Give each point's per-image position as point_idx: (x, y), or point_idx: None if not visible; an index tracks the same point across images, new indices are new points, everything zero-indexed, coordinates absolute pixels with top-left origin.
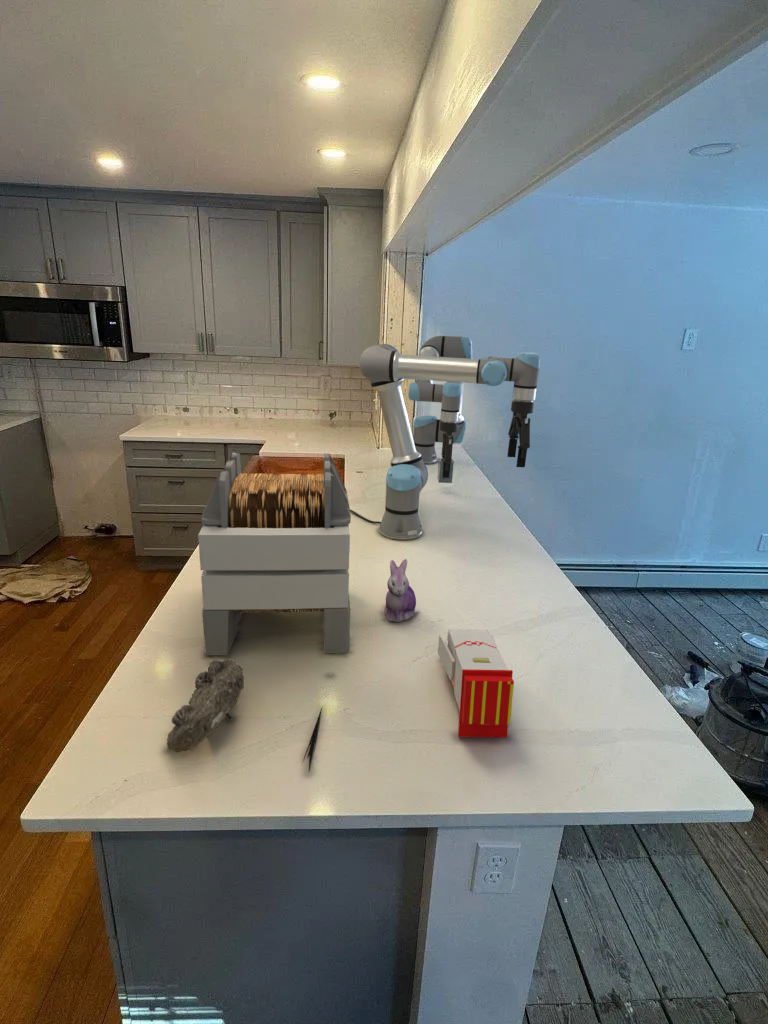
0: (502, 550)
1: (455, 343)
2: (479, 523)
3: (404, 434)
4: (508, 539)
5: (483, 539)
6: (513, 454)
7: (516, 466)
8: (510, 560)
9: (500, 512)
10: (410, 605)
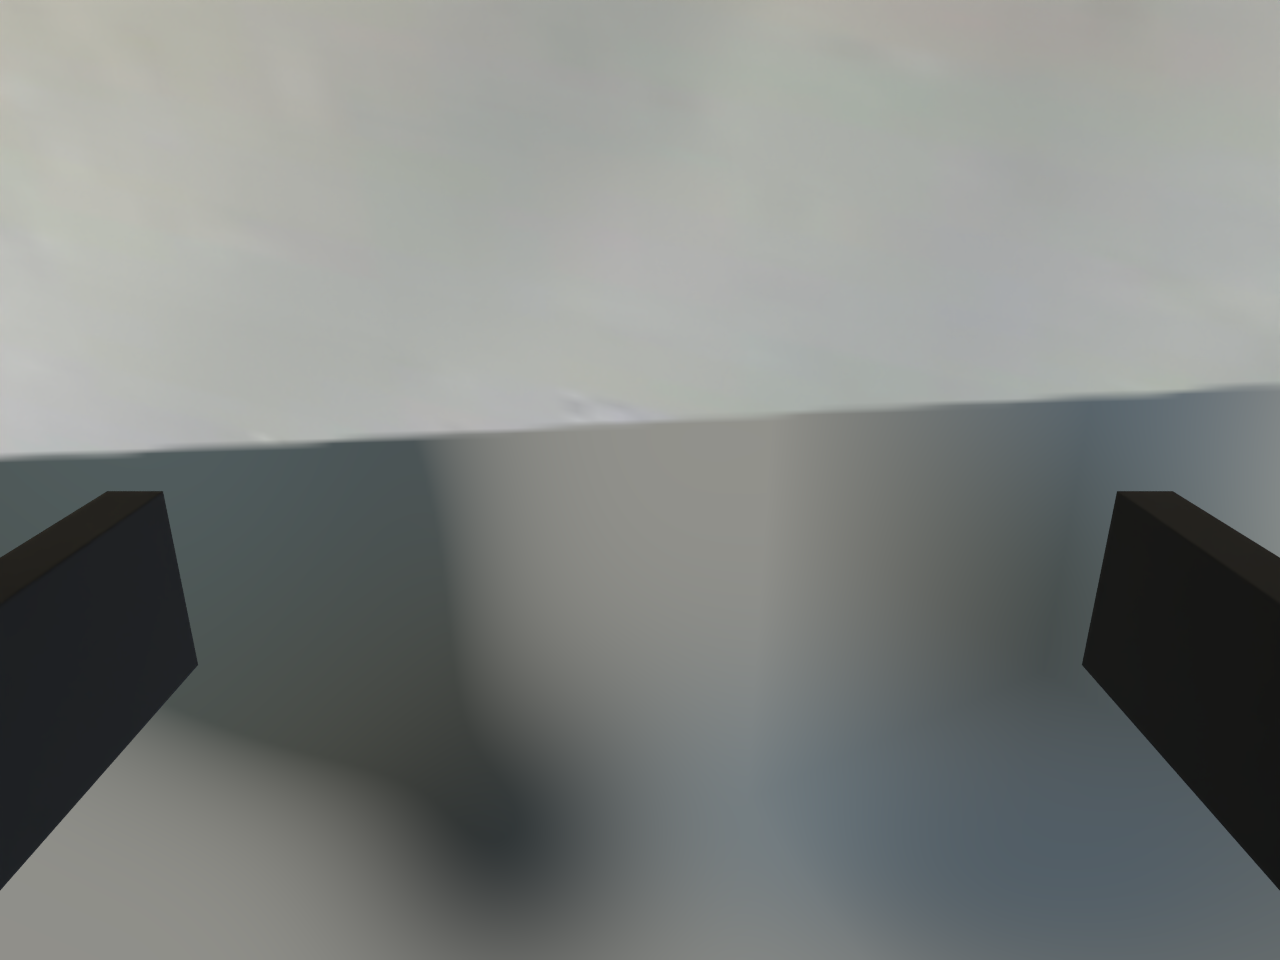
0: (219, 166)
1: None
2: (842, 75)
3: None
4: (472, 274)
5: (437, 36)
6: (1130, 657)
7: (139, 493)
8: (29, 190)
9: (1128, 349)
10: None
